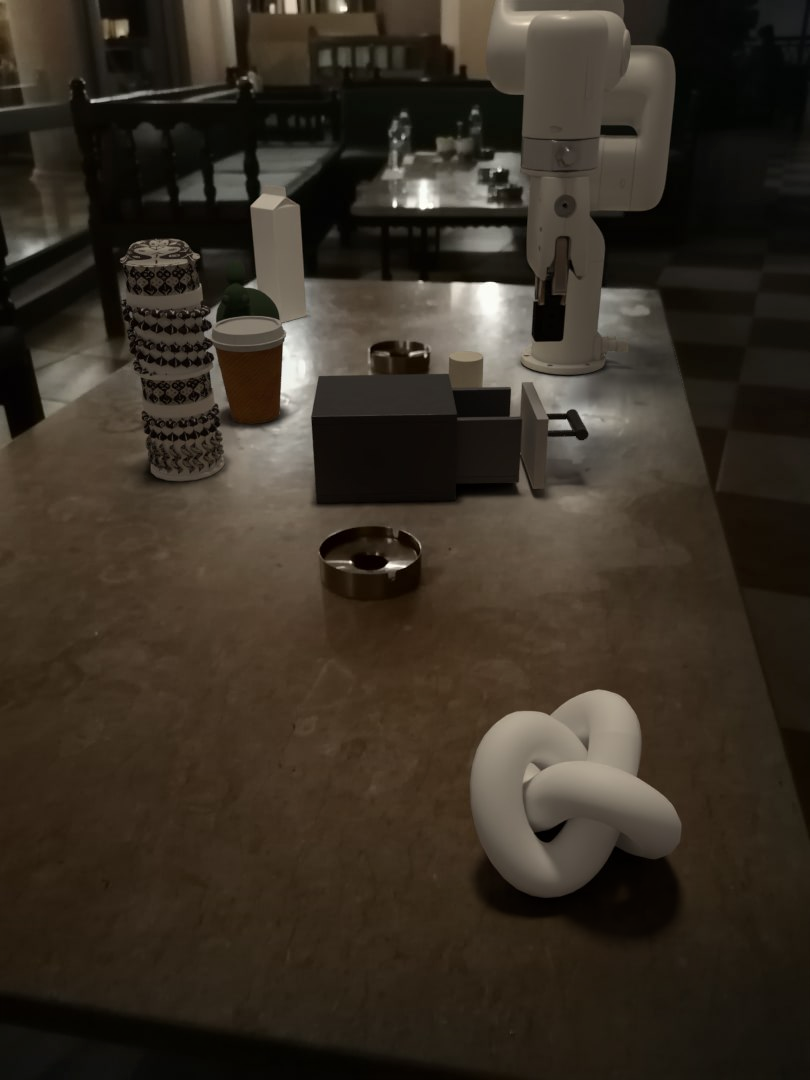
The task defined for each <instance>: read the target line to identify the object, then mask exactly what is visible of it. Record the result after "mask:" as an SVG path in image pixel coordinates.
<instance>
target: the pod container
mask: <svg viewBox="0 0 810 1080" xmlns="http://www.w3.org/2000/svg"><path fill="white" fill-rule="evenodd" d="M448 374H449V377H450V382H451V387H452V388H474V387H484V386H483V381H484V355H483V354H482V353H480V352H477V351H473V350H460V351H459V350H458V351H455V352H452V353H450V354H449V356H448Z"/></svg>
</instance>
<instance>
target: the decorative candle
mask: <svg viewBox="0 0 810 1080" xmlns="http://www.w3.org/2000/svg"><path fill="white" fill-rule="evenodd" d="M200 258H201V256H200V254H199V253H196V252H194V251H193V250H192V249H191V247H190V246H189V245H188V243H187V242H186V241H183V240H180V239H177V238H150V239H144V240H139V241H136V242H133V243H132V244H131V245H130V246H129V248H128V250H127V252H126V254H125V256H123V257H121V258H120V259H119V263H120V264H122V267H123V273H124V274H123V275H124V281H125V286H126V288H125V296H126V298H124V299H121V300H120V302H121V303H120V305H121V307H123V310H122V320H123V321H125V322H127V323H128V325H129V326H128V328H127V329H126V331H125V332H126V334H127V336H126V337H127V339H128V340H129V343H128V347H129V349H128V351H129V353H130V354H132V355H134V357H135V359H134V360H133V362H132V365H133V371H134V372H135V375H137V376H138V377H140V384H141V390H142V395H141V400H142V407H143V410H142V411H141V421H143V422H145V423H144V424H143V428H144V429H143V433H144V434H145V435H147V437H146V438H145V448H146V449H147V461H148V462H149V463H150V473H151V474H152V475H153V476H154V477H155V478H158V479H162V480H165V481H172V482H187V481H196V480H200V479H204V478H208V477H211V476H212V475H215V474H216V473H218V472H220V471H221V470H222V468H224V466H225V460H224V456H223V454H224V453H225V450H224V445H223V444H222V442H223V440H224V438H223V433H222V432H221V430H218V428H220V426H221V422H220V420H221V418H220V417H219V416H217V415H218V414H220V409H219V404H218V403H216V402H215V401H216V400H215V391H214V388H213V387H212V380H211V370H212V369H214V363H213V362H214V360H215V356H214V354H213V353H212V352H210V351H208V350H209V349H210V348H212V347H214V345H213V342H212V341H211V340H210V338H208V336H206V335H205V333H206V332H208V331H209V330H211V329H213V324H212V322H211V321H209V320H208V319H206V317H208V316H209V315H210V314H211V312H212V310H211V308H210V307H208V306H207V305H205V304H204V303H202V301H204V295H203V287H202V283H200V276H199V266H198V259H200ZM130 313H131V314H130Z"/></svg>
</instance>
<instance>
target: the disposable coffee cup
mask: <svg viewBox="0 0 810 1080" xmlns="http://www.w3.org/2000/svg"><path fill="white" fill-rule="evenodd" d="M211 329H212V330H211V334H210V335H209V339H210V340H211V341H212V342H213V347H214V349H215V353H216V357H217V362H218V366H219V370H220V374H221V377H222V382H223V386H224V390H225V395H226V399H227V403H228V407H229V411H230V415H231V419H232V421H233V420H234V421H235V422H237V423H241V424H251V425H254V424H263V423H268V422H271V421H274V420H275V419H277V418H279V416H280V414H281V395H282V393H281V391H282V376H283V375H282V373H283V354H284V353H283V351H284V343H285V340H286V337H287V331H286V330H285V329H284V327H283V323H281V321H279V320H277V319H275V318H271V317H263V316H242V317H234V318H229V319H225V320H222V321H219V322H217V323H216V322H215V323H214V324H212V328H211Z"/></svg>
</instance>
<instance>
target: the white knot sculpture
mask: <svg viewBox="0 0 810 1080" xmlns="http://www.w3.org/2000/svg"><path fill="white" fill-rule="evenodd" d="M642 744H643V739H642V729H641V723H640V720H639V718H638V715H637V714H636V711H635V710H634V709H633V708H632V706H631V705H630V704H629V702H628V701H627V700H626V698H624V697H623V696H621V695H620V694H618V693H616V692H612V691H609V690H605V689H599V688H598V689H593V690H589V691H585V692H583V693H580V694H578V695H576V696H574V697H572V698H570V699H568V700H567V701H565V702H564V703H562V704H561V705H560V706H558V708H556V709H555V710H554V711H553V712H552V713H551V714H547V713H546V712H542V711H535V710H519V711H518V710H517V711H514V712H511V713H508V714H506V715H505V716H503V717H501V719H499V720H498V721H496V723H494V724H493V725H492V726H490V728H489V730H488V731H487V732H485V734H484V735H483V737H482V739H481V740H480V742H479V745H478V747H477V748H476V751H475V755H474V758H473V760H472V764H471V770H470V778H469V804H470V810H471V816H472V821H473V826H474V828H475V831H476V834H477V838H478V840H479V843H480V845H481V847H482V848H483V851H484V853H485V854H486V856H487V858H488V860H489V862H490V863H491V865H492V866H493V867H494V868H495V869H496V871H497V872H498V873H499V875H500V876H501V877H502V878H503V879H504V880H505V881H506V882H507V883H509V884H510V885H511V886H513V887H514V888H515V889H516V890H518V891H520V892H523V893H525V894H527V895H529V896H531V897H537V898H544V899H551V898H559V897H563V896H566V895H569V894H572V893H575V892H576V891H577V890H579V889H581V888H583V887H584V886H585V885H587V884H588V883H589V882H591V881H592V879H594V878H595V876H596V875H597V874H598V873H599V872H600V871H601V869H602V868H604V865H605V864H606V863H607V861H608V859H609V858H610V856H611V854H612V852H613V850H614V848H615V847H616V848H617V849H620V850H622V851H624V852H625V853H627V854H630V855H633V856H637V857H641V858H644V859H650V860H657V859H661V858H663V857H667V856H669V855H671V854H672V853H673V852H674V850H675V849H676V848H677V847H678V846H679V844H680V843H681V838H682V837H681V836H682V822H681V819H680V817H679V815H678V813H677V811H676V808H675V807H674V805H673V804H672V803H671V802H670V800H669V799H668V798H667V797H666V796H665V795H663V794H662V793H661V792H660V791H658V790H657V789H656V788H654V787H652V786H651V785H650V784H648V783H647V782H645V781H643V780H642V779H640V778H639V777H638V772H639V769H640V763H641V757H642ZM565 821H566V822H565ZM564 822H565V823H564ZM562 823H564V825H563V826H562V828H561V830H560V831H559V832H558V833H557V835H556V836H555V837H554V838H553V839H552V840H551V841H549V842H545V841H542V840H541V839H540V838H538V837H537V835H536V834H535V833H540V832H546V831H549V830H551V829H553V828H555V827H556V826H558V825H560V824H562Z"/></svg>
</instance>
